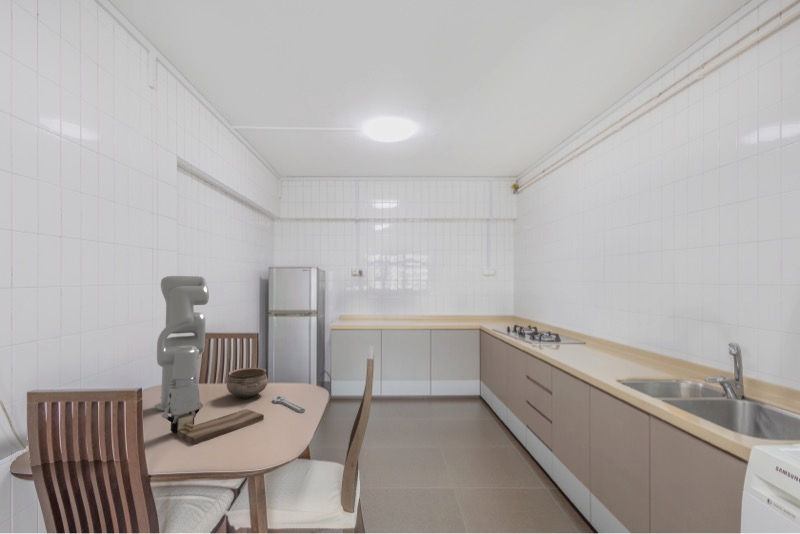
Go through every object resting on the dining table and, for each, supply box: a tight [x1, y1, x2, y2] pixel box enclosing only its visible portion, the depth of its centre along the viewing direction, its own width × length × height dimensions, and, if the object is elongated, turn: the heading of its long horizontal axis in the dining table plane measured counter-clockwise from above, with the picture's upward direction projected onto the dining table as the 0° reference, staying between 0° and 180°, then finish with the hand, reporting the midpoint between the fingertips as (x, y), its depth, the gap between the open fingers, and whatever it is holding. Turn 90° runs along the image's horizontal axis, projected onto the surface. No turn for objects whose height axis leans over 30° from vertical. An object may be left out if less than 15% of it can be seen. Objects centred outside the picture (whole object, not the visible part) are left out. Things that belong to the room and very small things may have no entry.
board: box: [177, 408, 265, 445], centre depth 141 cm, size 12×28×2 cm, turn 146°
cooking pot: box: [226, 367, 269, 400], centre depth 179 cm, size 25×19×12 cm
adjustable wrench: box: [271, 395, 306, 414], centre depth 166 cm, size 25×6×2 cm, turn 42°
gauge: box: [175, 413, 194, 436], centre depth 135 cm, size 10×5×6 cm, turn 56°
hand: (182, 429), depth 136 cm, fingers closed on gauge, 5 cm apart
